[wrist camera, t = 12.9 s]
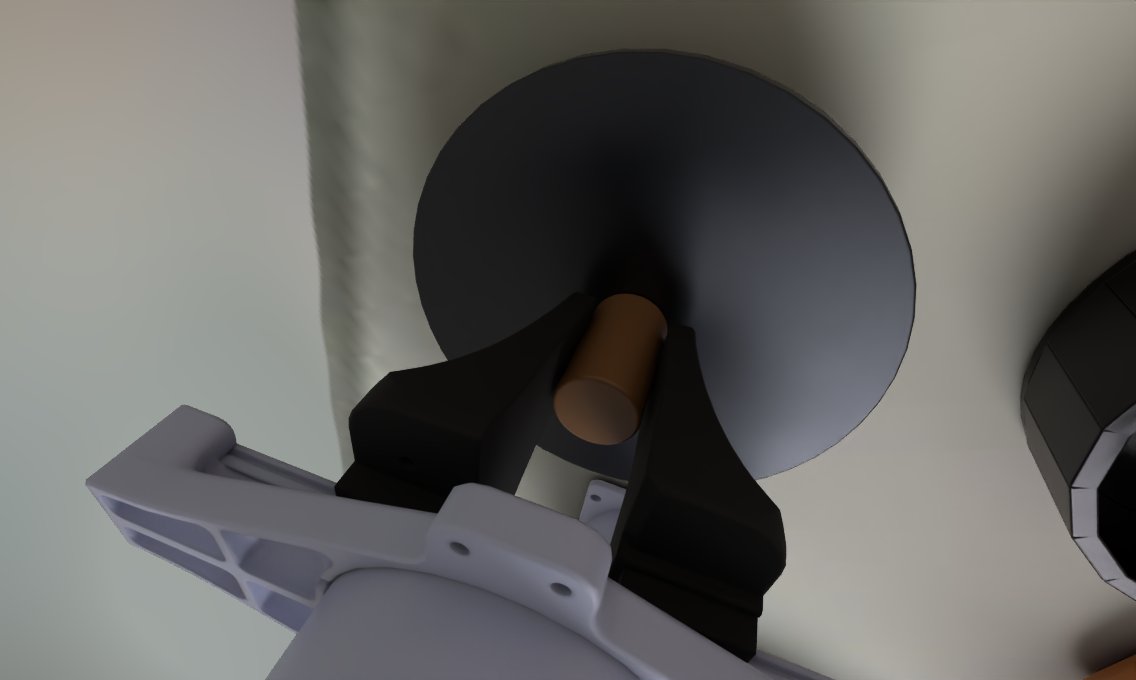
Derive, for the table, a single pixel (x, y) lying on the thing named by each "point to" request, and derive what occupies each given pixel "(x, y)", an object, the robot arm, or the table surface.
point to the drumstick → (1117, 671)
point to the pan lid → (672, 250)
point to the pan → (1090, 421)
